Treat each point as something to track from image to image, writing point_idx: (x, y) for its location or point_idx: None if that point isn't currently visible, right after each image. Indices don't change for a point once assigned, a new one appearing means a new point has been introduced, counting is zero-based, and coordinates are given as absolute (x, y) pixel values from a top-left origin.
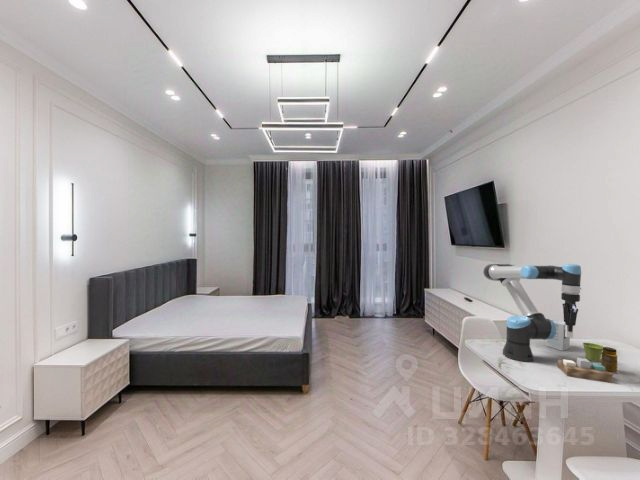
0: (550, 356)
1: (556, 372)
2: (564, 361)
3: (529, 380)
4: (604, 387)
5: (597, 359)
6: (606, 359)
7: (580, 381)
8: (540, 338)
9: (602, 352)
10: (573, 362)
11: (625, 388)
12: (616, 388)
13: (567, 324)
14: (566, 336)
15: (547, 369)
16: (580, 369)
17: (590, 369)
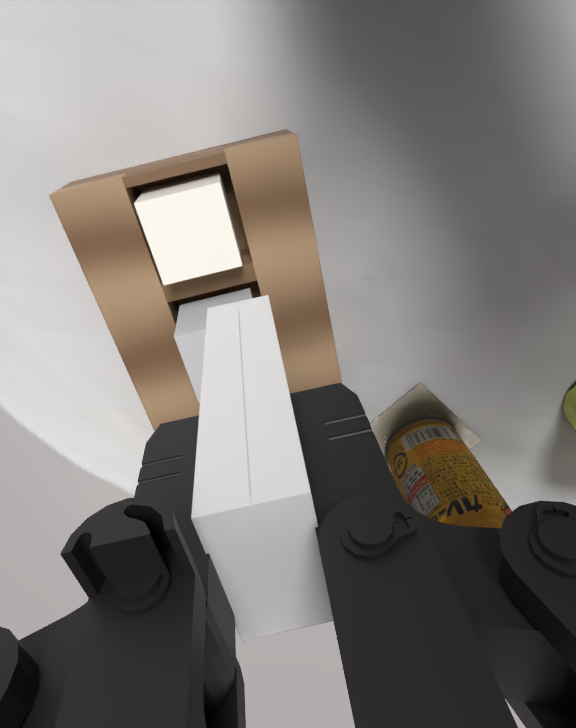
0: (572, 101)
1: (96, 96)
2: (183, 189)
3: None
4: (37, 390)
5: (573, 424)
6: (422, 491)
7: (21, 266)
8: None
9: (478, 506)
10: (183, 269)
11: (130, 478)
12: (85, 442)
13: (82, 576)
14: (207, 316)
15: (120, 10)
16: (114, 301)
17: (185, 369)
